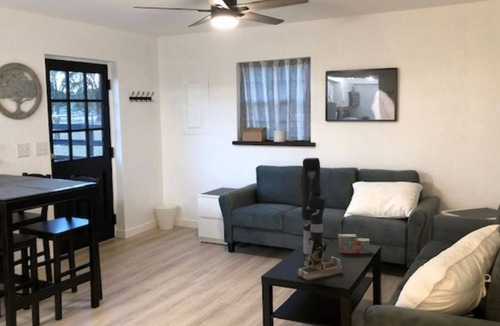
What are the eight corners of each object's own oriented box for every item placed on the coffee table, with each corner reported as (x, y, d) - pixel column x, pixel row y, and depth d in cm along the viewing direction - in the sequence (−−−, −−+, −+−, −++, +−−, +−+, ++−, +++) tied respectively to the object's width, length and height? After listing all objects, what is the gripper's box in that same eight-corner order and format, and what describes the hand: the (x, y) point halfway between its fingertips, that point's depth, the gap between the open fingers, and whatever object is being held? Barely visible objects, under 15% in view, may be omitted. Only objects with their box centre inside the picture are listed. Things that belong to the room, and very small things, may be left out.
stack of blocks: (368, 251, 335) (368, 234, 334) (369, 253, 329) (369, 236, 328) (338, 250, 339) (338, 233, 337) (338, 253, 333) (338, 236, 331)
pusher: (316, 270, 294) (316, 260, 294) (317, 270, 295) (317, 259, 294) (323, 274, 288) (323, 263, 287) (325, 273, 288) (325, 262, 288)
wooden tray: (297, 275, 290) (297, 263, 289) (331, 267, 302) (331, 255, 301) (307, 280, 281) (307, 267, 280) (341, 272, 293) (341, 260, 292)
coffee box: (308, 267, 283) (314, 241, 285) (303, 265, 289) (309, 239, 291) (321, 270, 286) (327, 244, 287) (316, 268, 292) (322, 242, 294)
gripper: (304, 228, 292) (305, 254, 293) (318, 233, 279) (318, 260, 281) (314, 227, 295) (314, 252, 297) (328, 232, 283) (328, 258, 284)
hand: (316, 256), depth 289 cm, fingers closed on coffee box, 7 cm apart
